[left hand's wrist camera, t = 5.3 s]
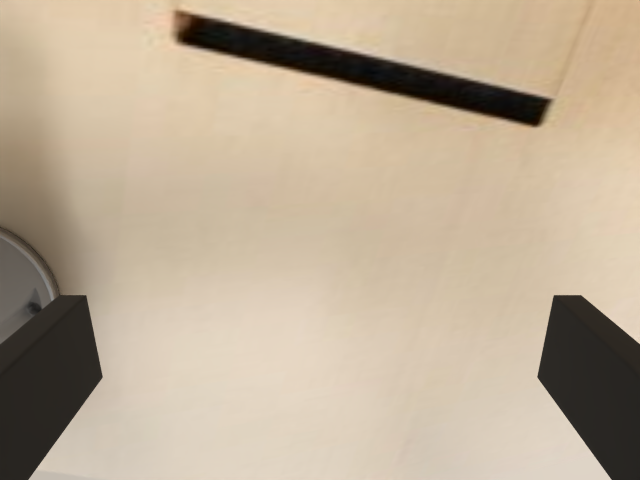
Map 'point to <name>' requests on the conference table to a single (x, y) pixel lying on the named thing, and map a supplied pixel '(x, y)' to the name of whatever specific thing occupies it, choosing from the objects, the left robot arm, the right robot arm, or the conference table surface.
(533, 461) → the conference table surface
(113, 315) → the conference table surface
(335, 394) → the conference table surface
